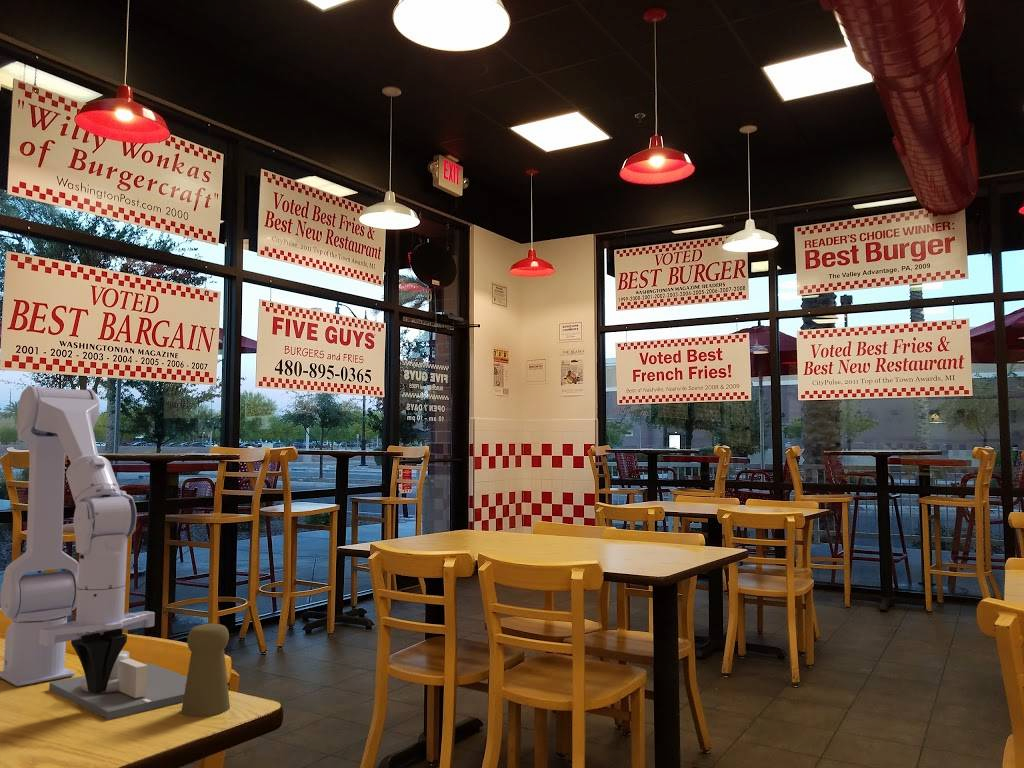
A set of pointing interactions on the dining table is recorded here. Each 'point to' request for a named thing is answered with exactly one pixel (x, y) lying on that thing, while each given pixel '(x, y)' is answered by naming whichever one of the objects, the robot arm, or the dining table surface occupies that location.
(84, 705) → the dial board
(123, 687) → the dial
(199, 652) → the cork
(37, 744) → the dining table surface
